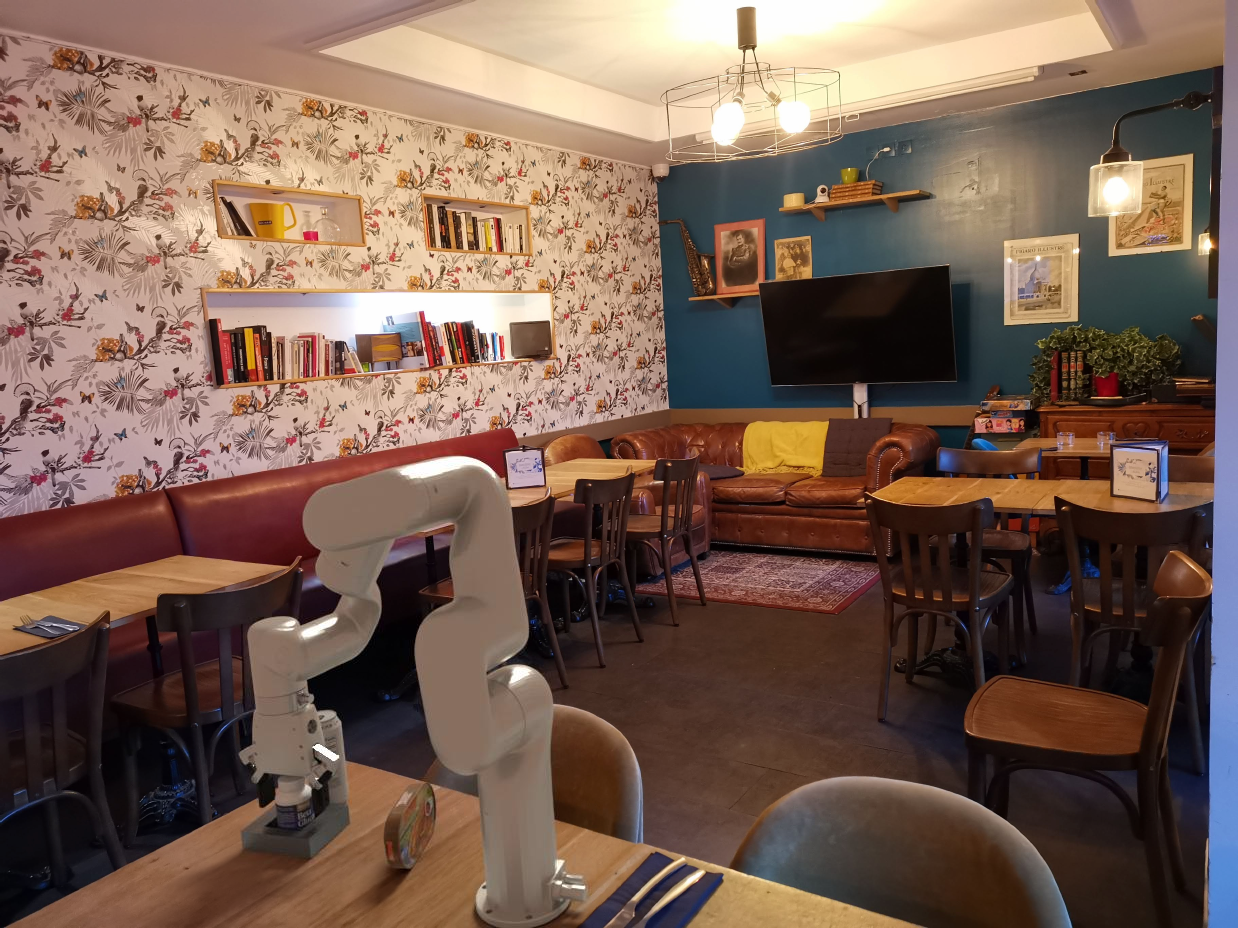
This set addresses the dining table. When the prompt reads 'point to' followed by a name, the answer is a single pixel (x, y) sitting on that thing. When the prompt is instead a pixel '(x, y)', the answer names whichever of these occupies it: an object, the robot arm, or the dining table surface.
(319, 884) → the dining table surface
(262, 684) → the robot arm
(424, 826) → the tin
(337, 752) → the energy drink can
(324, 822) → the socket block
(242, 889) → the dining table surface
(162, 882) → the dining table surface
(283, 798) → the pill bottle
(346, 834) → the dining table surface
